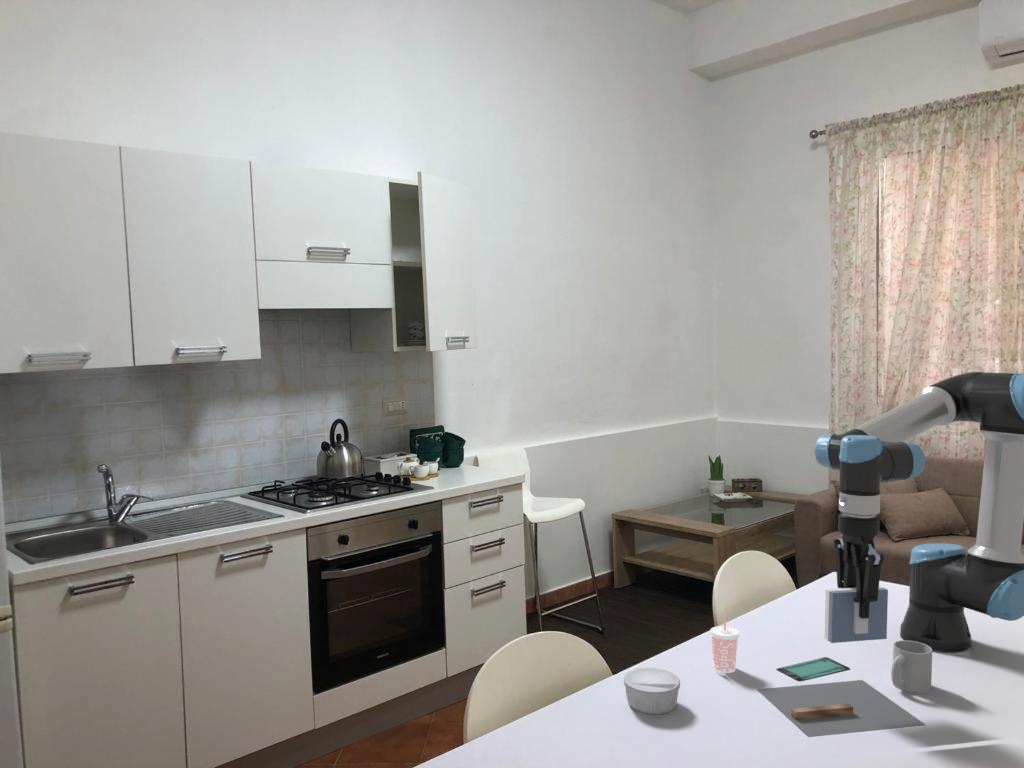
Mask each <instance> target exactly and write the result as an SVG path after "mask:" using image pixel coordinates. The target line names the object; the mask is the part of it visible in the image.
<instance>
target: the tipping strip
mask: <svg viewBox="0 0 1024 768" xmlns="http://www.w3.org/2000/svg"><path fill="white" fill-rule="evenodd" d="M844 715H853V706H851V705H850V704H838V705H828V706H817V707H806V708H796V709H792V712H791V717H793V718H794V719H795V720H802V719H813V718H823V717H833V716H844Z"/></svg>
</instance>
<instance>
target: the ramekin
mask: <svg viewBox="0 0 1024 768" xmlns="http://www.w3.org/2000/svg"><path fill="white" fill-rule="evenodd" d="M623 684H624V687H625V693H626V694H625V695H626V699H627V703H628V705H629V706H630V707H631V708H633V709H634V710H635V711H637V712H639V713H642V714H646V715H662V714H663V715H664V714H667V713H669V712H671V711H672V710H673V709H674V708H675V707H676V706H677V702H678V696H679V690H680V688H681V680H680V678H679V677H678V676H677V675H676V674H675V673H673V672H671V671H669V670H667V669H663V668H658V667H657V668H656V667H639V668H634V669H632V670H629V671H628V672H626V673H625V674H624V677H623Z"/></svg>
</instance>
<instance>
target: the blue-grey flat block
mask: <svg viewBox="0 0 1024 768" xmlns="http://www.w3.org/2000/svg"><path fill="white" fill-rule="evenodd" d="M888 597H889V590H888V589H887V588H886V587H883V586H881V585H879V590H878V600H877V601H873V602H870V604H869V618H868V633H862V634H855V633H853V626H854V599H857V588H828V589H827V588H826V589H825V602H824V603H825V607H824V608H825V610H824V612H825V613H824V615H825V616H824V640H826V641H828V642H829V643H831V644H837V643H850V642H864V641H875V640H887V637H888V634H887V633H888V632H887V631H888V607H889V606H888V604H889V603H888V601H889V600H888V599H889V598H888Z"/></svg>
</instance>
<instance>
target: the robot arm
mask: <svg viewBox="0 0 1024 768" xmlns="http://www.w3.org/2000/svg"><path fill="white" fill-rule="evenodd" d="M955 422H969V423H970V422H973V423H978V424H979V423H980V424H979V433H981V434H982V436H983V437H984V438H985V439H986V441H985V452H984V460H983V461H984V462H983V468H982V469H983V472H982V480H981V481H982V482H981V490H980V499H979V508H978V509H979V510H978V519H977V520H978V521H977V530H976V538H975V539H976V540H975V541H976V542H975V544H974V545H973V546H972V547H970V548H969V549H968V550H966V547H965V546H964V545H960V544H954V543H939V542H936V543H924V544H919V545H915V546H914V547H913V548H912V549H911V551H910V552H911V553H910V561H909V592H908V593H909V599H908V600H909V601H908V607H907V609H906V613H905V615H904V617H903V621H902V622H901V624H900V626H899V627H900V631H899V634H900V635H899V636H900V638H901V639H902V640H908V641H916V642H920V643H923V644H926V645H928V646H930V647H931V648H932V651H935V652H940V653H941V652H944V653H958V652H964V651H967V650H969V649H971V647H972V634H971V631H970V628H969V625H968V622H967V619H966V615H965V609H968V610H972V611H974V612H976V613H981V614H984V615H986V616H989V617H990V618H992V619H1000V620H1004V621H1008V622H1012V621H1017V620H1020V619H1021V618H1023V617H1024V555H1023V554H1022V552H1021V550H1022V549H1021V548H1022V541H1023V540H1022V538H1023V530H1024V373H1012V372H1011V373H1008V372H984V371H971V372H965V373H961V374H960V373H959V374H957V375H954V376H951V377H948V378H945V379H942V380H940V381H938V382H935V383H932V384H931V385H928V386H927V387H925V388H923V389H922V390H921V391H920V392H919V394H918V396H917V397H915V398H913V399H911V400H909V401H906V402H904V403H903V404H901V405H899V406H897V407H894V408H893V409H890V410H889V411H887V412H885V413H882V414H881V415H878V416H877V417H874V418H872V419H870V420H868V421H866V422H864V423H862V424H860V425H858V426H856V427H855V428H853V429H850V430H848V431H846V432H844V433H842V434H838V433H824V434H823V435H820V436H819V438H817V440H816V443H815V445H814V449H813V451H814V457H815V460H816V462H817V463H818V464H819V465H820V466H822V467H823V468H827V469H832V470H834V471H836V470H837V471H839V489H838V490H839V497H838V510H839V511H840V513H839V514H838V515H837V516H838V517H837V518H838V519H837V522H838V523H837V530H838V532H839V533H840V534H842V536H841V538H837V539H834V540H833V543H834V548H835V560H836V561H835V562H836V585H837V589H840V588H857V599H854V626H853V633H855V634H862V633H868V618H869V604H870V602H873V601H877V600H878V590H879V586H880V579H881V578H880V577H881V568H882V564H883V562H884V559H885V557H884V555H883V554H882V553H879V554H878V552H877V551H876V550H875V549H876V545H875V541H874V538H875V537H876V536H878V535H879V533H880V517H879V514H880V513H881V483H882V482H892V481H893V482H895V481H906V480H908V479H912V478H917V477H918V476H920V475H921V474H922V473H923V471H924V469H925V467H926V455H925V453H924V451H923V449H922V448H921V447H920V446H919V445H918V444H916V443H915V442H910V441H909V440H910V439H912V438H914V437H916V436H918V435H921V434H923V433H924V432H926V431H928V430H930V429H932V428H934V427H935V426H939V427H940V426H941V427H943V426H947V425H949V424H951V423H955Z"/></svg>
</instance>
